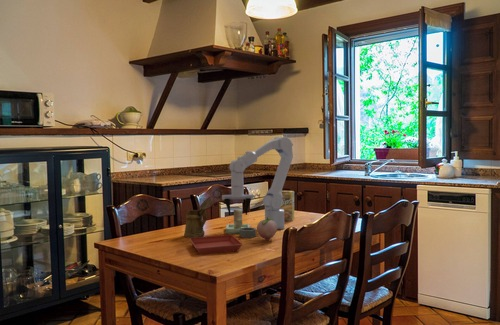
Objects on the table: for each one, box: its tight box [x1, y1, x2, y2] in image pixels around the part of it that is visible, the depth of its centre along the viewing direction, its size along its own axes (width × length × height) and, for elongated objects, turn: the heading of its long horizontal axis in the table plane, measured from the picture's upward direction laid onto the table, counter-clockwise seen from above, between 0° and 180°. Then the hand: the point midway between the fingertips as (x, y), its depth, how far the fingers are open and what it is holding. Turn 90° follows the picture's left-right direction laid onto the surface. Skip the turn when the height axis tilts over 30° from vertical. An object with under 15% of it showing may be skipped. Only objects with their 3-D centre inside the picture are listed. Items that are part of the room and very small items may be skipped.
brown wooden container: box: [183, 196, 212, 239], centre depth 202 cm, size 9×14×18 cm, turn 61°
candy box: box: [280, 190, 295, 222], centre depth 240 cm, size 9×4×15 cm, turn 70°
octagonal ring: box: [239, 226, 257, 239], centre depth 202 cm, size 7×7×3 cm
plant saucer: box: [189, 234, 243, 255], centre depth 181 cm, size 18×18×3 cm
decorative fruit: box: [256, 217, 278, 241], centre depth 193 cm, size 9×8×10 cm
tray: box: [225, 223, 251, 235], centre depth 213 cm, size 11×12×2 cm
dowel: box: [233, 208, 243, 229], centre depth 213 cm, size 4×4×9 cm
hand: (238, 214), depth 213 cm, fingers open, 7 cm apart
